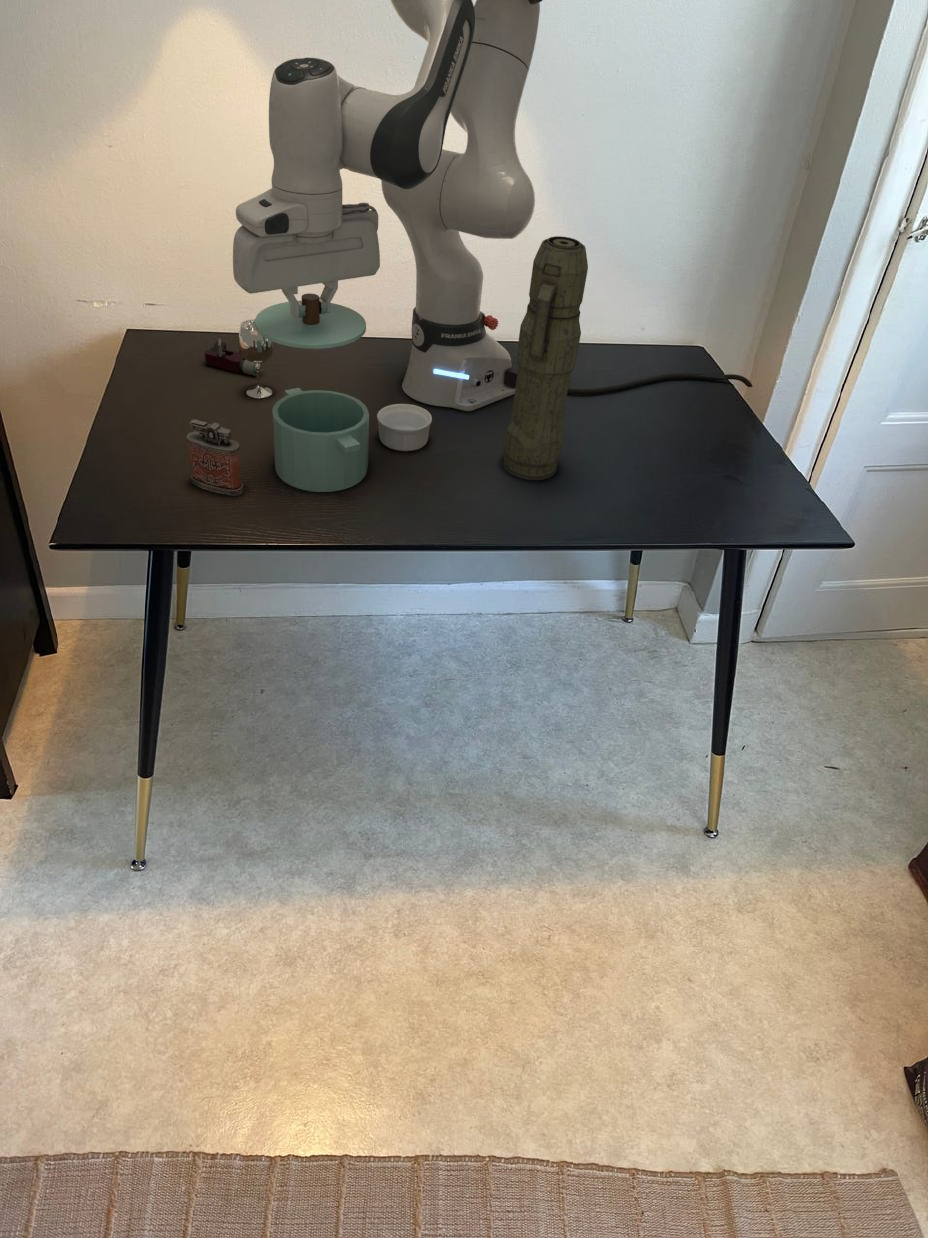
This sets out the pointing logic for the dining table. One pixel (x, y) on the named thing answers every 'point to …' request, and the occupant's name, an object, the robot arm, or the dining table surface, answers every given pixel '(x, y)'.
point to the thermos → (546, 358)
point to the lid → (310, 325)
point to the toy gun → (228, 359)
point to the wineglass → (255, 354)
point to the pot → (320, 440)
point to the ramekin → (404, 426)
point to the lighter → (214, 458)
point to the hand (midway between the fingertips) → (310, 314)
